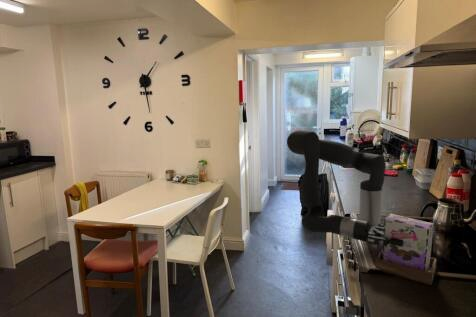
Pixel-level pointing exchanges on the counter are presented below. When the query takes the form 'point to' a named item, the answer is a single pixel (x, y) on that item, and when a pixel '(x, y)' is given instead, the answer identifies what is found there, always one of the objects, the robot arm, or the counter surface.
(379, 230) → the robot arm
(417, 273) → the crate
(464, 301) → the counter surface
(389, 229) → the candy box
